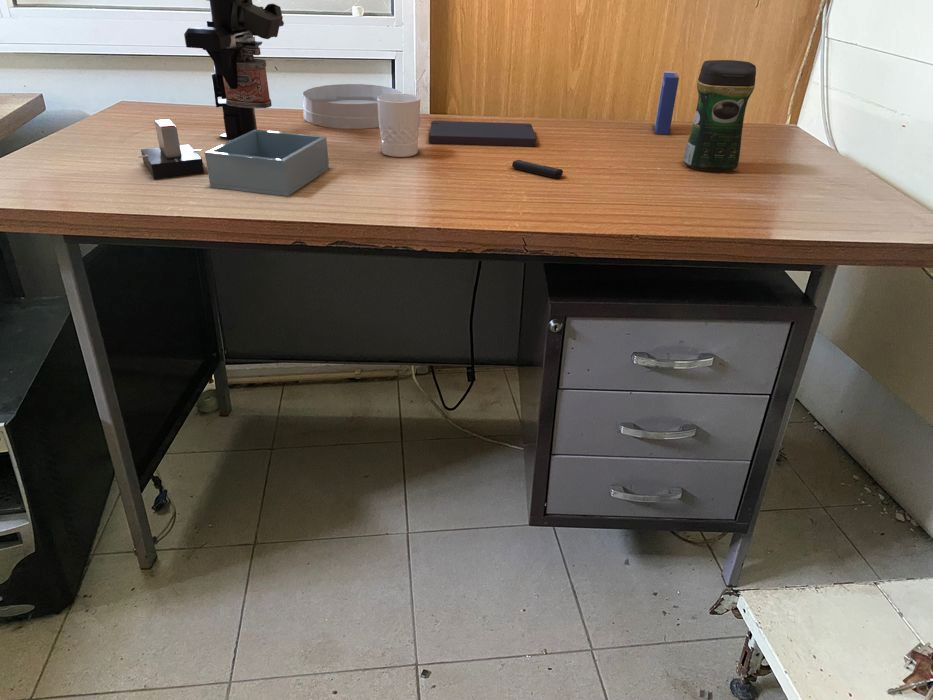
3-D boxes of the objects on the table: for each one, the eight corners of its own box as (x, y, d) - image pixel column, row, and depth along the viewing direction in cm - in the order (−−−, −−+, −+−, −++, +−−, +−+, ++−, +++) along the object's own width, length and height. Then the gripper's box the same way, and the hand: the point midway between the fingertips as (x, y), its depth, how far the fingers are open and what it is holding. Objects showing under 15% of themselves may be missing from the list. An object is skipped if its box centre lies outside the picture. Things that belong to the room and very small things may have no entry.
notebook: (428, 143, 139) (535, 146, 139) (428, 135, 138) (536, 138, 138) (431, 127, 150) (530, 131, 150) (431, 120, 149) (531, 123, 149)
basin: (258, 161, 125) (254, 129, 122) (328, 168, 122) (326, 136, 120) (210, 187, 112) (204, 152, 109) (287, 196, 109) (284, 160, 107)
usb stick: (564, 176, 123) (565, 167, 122) (556, 180, 121) (557, 171, 120) (518, 166, 127) (518, 157, 126) (510, 169, 125) (511, 160, 125)
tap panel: (136, 164, 121) (133, 148, 120) (197, 157, 126) (194, 142, 125) (147, 180, 114) (143, 164, 113) (211, 172, 119) (208, 157, 117)
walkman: (669, 135, 151) (679, 76, 144) (656, 134, 151) (665, 75, 145) (667, 126, 157) (677, 69, 151) (654, 125, 158) (663, 69, 152)
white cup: (414, 159, 129) (413, 103, 124) (373, 156, 130) (371, 100, 125) (425, 148, 135) (425, 95, 130) (386, 145, 137) (384, 92, 131)
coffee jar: (729, 161, 134) (752, 57, 124) (740, 174, 127) (766, 65, 117) (678, 159, 134) (697, 55, 125) (687, 171, 127) (707, 62, 118)
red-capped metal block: (160, 150, 120) (153, 118, 118) (174, 148, 121) (168, 117, 119) (166, 159, 116) (160, 126, 113) (181, 157, 117) (176, 125, 114)
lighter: (223, 105, 123) (212, 45, 116) (230, 99, 125) (220, 40, 119) (267, 109, 122) (259, 49, 116) (274, 102, 125) (266, 43, 118)
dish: (363, 102, 170) (362, 80, 167) (424, 119, 157) (424, 95, 154) (284, 114, 156) (281, 91, 154) (342, 134, 143) (341, 109, 140)
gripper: (240, -8, 104) (253, 101, 112) (296, -15, 120) (305, 81, 128) (174, -12, 106) (192, 95, 114) (238, -18, 122) (249, 77, 130)
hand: (238, 87), depth 122 cm, fingers closed on lighter, 3 cm apart
